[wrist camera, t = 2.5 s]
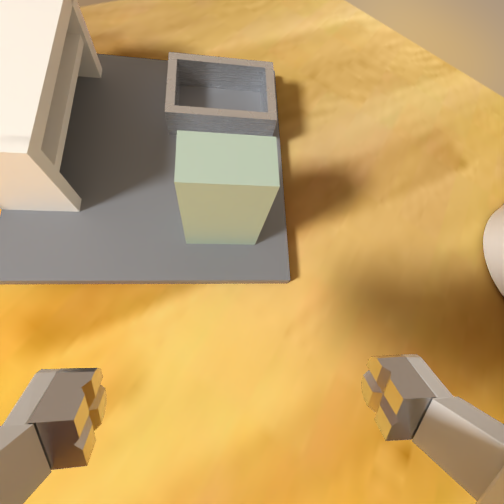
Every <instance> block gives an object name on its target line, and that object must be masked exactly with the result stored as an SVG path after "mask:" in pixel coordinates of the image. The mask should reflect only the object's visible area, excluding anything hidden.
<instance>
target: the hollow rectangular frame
mask: <svg viewBox="0 0 504 504" xmlns="http://www.w3.org/2000/svg"><path fill="white" fill-rule="evenodd" d="M180 85H181V86H193V87H204V88H216V89H228V90H239V91H251V92H260V93H261V112H255V111H242V110H229V109H216V108H203V107H190V106H179V92H180ZM165 117H166V122H167V128H168V134H169V135H177V130H181V131H196V132H211V133H226V134H241V135H257V136H273V132H274V129H275V126H276V122H277V112H276V98H275V84H274V71H273V62H264V61H254V60H244V59H234V58H224V57H214V56H205V55H195V54H185V53H175V52H169V57H168V71H167V85H166V99H165Z"/></svg>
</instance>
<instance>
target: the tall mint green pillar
mask: <svg viewBox="0 0 504 504" xmlns="http://www.w3.org/2000/svg"><path fill="white" fill-rule="evenodd" d="M174 184H175V189H176V194H177V199H178V204H179V209H180V214H181V219H182V224H183V229H184V235H185V240H186V244H241V245H255V243H256V241H257V239H258V236H259V234H260V232H261V229H262V227H263V225H264V222H265V220H266V218H267V215H268V213H269V211H270V208H271V206H272V204H273V201H274V199H275V197H276V194H277V192H278V190H279V187H280V182H279V168H278V154H277V140H276V137H272V136H257V135H241V134H226V133H211V132H196V131H181V130H177V139H176V157H175V176H174Z"/></svg>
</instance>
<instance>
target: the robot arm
mask: <svg viewBox="0 0 504 504" xmlns="http://www.w3.org/2000/svg"><path fill="white" fill-rule="evenodd" d="M483 249H484V256H485V260H486V264H487V267H488V270H489V272H490V275H491V277H492V279H493V281H494V283H495V284H496V286H497V288H498V289H499V291H500V292H501V294H502V295H503V296H504V204H503V205H502V206H501V207H500V208H499V209H497V210H496V211H495V212H494V213H493V214H492V216H491V217H490V218H489V220H488V222H487V224H486V227H485V231H484V237H483ZM367 367H368V368H369V371H368V372H366V373H365V374H364V375H363V378H362V382H361V386H362V394H363V397H364V400H365V402H366V404H367V406H368V407H369V408H371V409H372V410H373V411H374V412H376V414H375V421H376V423H377V425H378V427H379V429H380V431H381V433H382V435H383V437H384V439H385V441H390V440H410V439H413V440H412V441H413V442H414V443H415V444H416V445H417V446H418V447H419V448H420V449H421V450H422V451H424V452H425V453H426V454H427V455H428V456H429V457H430V458H431V459H432V460H433V461H434V462H435V463H437V464H438V465H439V466H440V467H441V468H442V469H443V470H444V471H445V472H446V473H447V474H449V475H450V476H451V477H452V478H453V479H454V480H455V481H456V482H457V483H458V484H459V485H461V486H462V487H463V488H464V489H465V490H466V491H467V492H468V493H469V494H470V495H471V496H472V497H474V498H475V499H476V500H477V502H476V504H504V424H502V423H501V422H499V421H497V420H496V419H494V418H492V417H491V416H489V415H487V414H486V413H484V412H483V411H481V410H479V409H478V408H476V407H474V406H473V405H471V404H469V403H468V402H466V401H465V400H463V399H461V398H460V397H453V395H452V394H451V393H450V392H449V391H448V389H447V388H446V387H445V386H444V385H443V383H442V382H441V381H440V380H439V378H438V377H437V376H436V375H435V374H434V372H433V371H432V370H431V369H430V367H429V366H428V365H427V364H426V363H425V361H424V360H423V359H422V358H421V357H420V356H419V355H417V354H407V355H386V356H372V357H370V358H369V360H368V363H367ZM102 378H103V375H102V371H101V369H100V368H70V369H41V370H40V371H38V372H37V373H36V374H35V375H34V377H33V378H32V380H31V381H30V383H29V385H28V386H27V388H26V389H25V391H24V392H23V394H22V395H21V397H20V399H19V400H18V402H17V403H16V405H15V406H14V408H13V409H12V411H11V413H10V414H9V416H8V417H7V419H6V420H5V422H4V423H3V425H2V426H0V504H23V503H24V502H25V501H26V500H27V499H28V497H29V496H30V495H31V494H32V493H33V492H34V491H35V490H36V489H37V487H38V486H39V485H40V484H41V483H42V482H43V481H44V480H45V479H46V477H47V476H48V475H49V474H50V473H51V470H54V469H63V468H72V467H81V466H87V465H88V462H89V459H90V456H91V453H92V450H93V447H94V444H95V441H96V438H95V433H94V430H95V429H97V428H98V427H99V426H100V425H101V424H102V420H103V417H104V414H105V408H106V390H105V388H104V387H103V386H102V385H100V384H101V381H102Z"/></svg>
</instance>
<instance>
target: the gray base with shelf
mask: <svg viewBox="0 0 504 504" xmlns="http://www.w3.org/2000/svg"><path fill="white" fill-rule="evenodd" d="M167 71H168V61H167V60H156V59H146V58H135V57H125V56H115V55H104V54H97V53H96V50H95V48H94V45H93V42H92V40H91V37H90V34H89V32H88V29H87V26H86V23H85V21H84V18H83V15H82V13H81V10H80V7H79V5H78V2H77V0H0V209H2V211H1V215H0V284H220V283H288V282H289V281H290V270H289V256H288V243H287V230H286V216H285V203H284V190H283V176H282V163H281V150H280V136H279V123H278V110H277V96H276V83H275V71H274V84H275V98H276V112H277V122H276V126H275V129H274V132H273V136H272V137H276V140H277V154H278V168H279V182H280V187H279V190H278V192H277V194H276V197H275V199H274V201H273V204H272V206H271V208H270V211H269V213H268V215H267V218H266V220H265V222H264V225H263V227H262V229H261V232H260V234H259V236H258V239H257V241H256V243H255V245H241V244H186V240H185V235H184V229H183V224H182V219H181V214H180V209H179V204H178V199H177V194H176V189H175V184H174V176H175V157H176V139H177V135H169V134H168V128H167V122H166V117H165V99H166V85H167ZM179 106H190V107H203V108H216V109H229V110H242V111H255V112H261V93H260V92H251V91H239V90H228V89H216V88H204V87H193V86H181V85H180V92H179Z"/></svg>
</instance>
